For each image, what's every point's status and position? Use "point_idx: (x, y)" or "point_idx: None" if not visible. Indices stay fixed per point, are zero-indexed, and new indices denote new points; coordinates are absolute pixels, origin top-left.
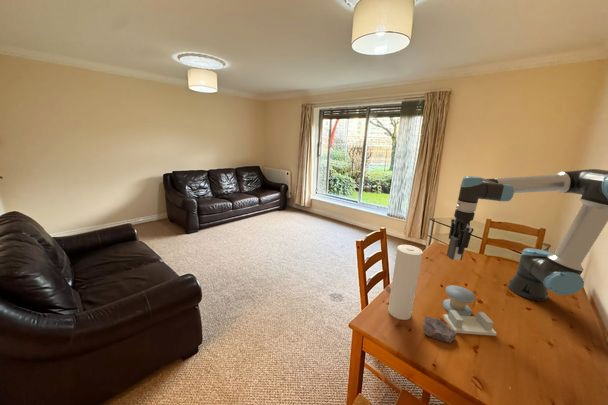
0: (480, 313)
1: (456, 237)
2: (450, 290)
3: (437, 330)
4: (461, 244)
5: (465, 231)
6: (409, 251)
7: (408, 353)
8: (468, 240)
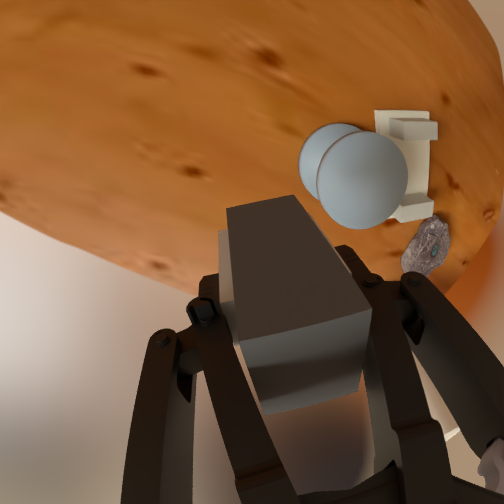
0: (409, 135)
1: (286, 386)
2: (358, 216)
3: (443, 261)
4: (408, 335)
5: (486, 448)
6: (445, 440)
7: (444, 292)
8: (470, 338)
